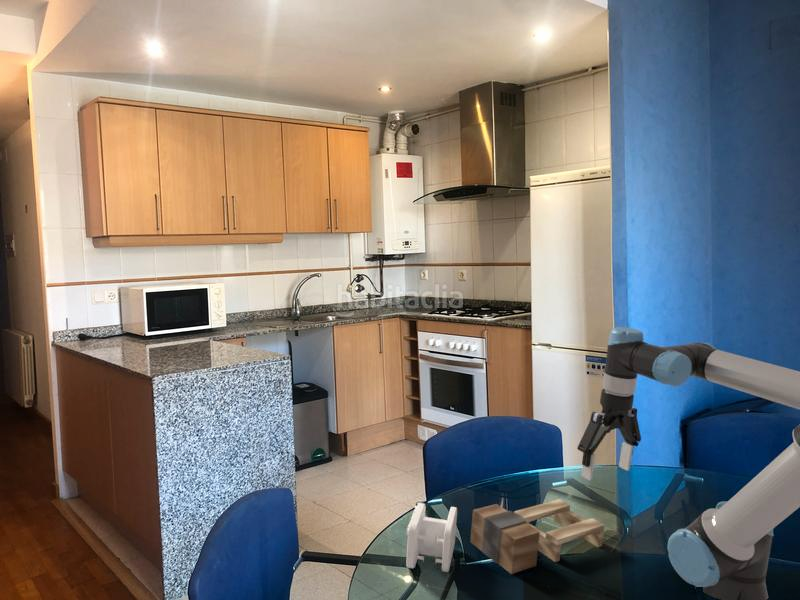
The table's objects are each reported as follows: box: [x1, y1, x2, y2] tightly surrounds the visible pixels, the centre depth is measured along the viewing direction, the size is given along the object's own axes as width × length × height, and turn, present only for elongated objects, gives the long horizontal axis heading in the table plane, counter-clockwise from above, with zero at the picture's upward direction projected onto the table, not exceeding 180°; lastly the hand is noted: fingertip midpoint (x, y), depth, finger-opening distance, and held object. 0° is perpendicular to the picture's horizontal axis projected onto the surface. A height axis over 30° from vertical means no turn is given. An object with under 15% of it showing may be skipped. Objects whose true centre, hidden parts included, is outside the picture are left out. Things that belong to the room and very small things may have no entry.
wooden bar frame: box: [513, 498, 605, 563], centre depth 171 cm, size 16×17×6 cm
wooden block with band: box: [469, 503, 539, 575], centre depth 162 cm, size 16×8×9 cm, turn 32°
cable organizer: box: [405, 502, 458, 573], centre depth 157 cm, size 15×11×12 cm
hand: (605, 473), depth 159 cm, fingers open, 13 cm apart
